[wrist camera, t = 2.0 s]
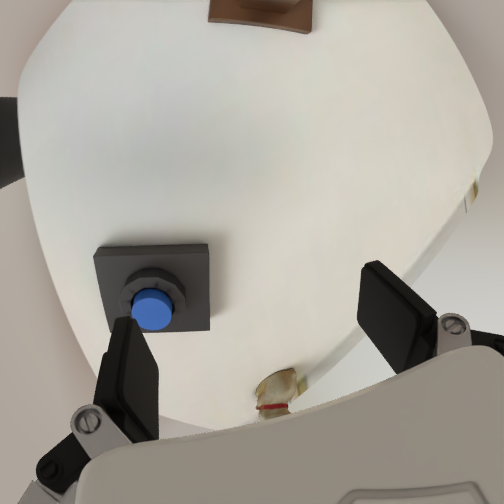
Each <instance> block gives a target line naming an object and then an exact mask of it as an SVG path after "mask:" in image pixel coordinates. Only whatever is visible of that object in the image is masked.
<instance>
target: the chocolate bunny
mask: <svg viewBox="0 0 504 504" xmlns="http://www.w3.org/2000/svg"><path fill="white" fill-rule="evenodd" d="M296 387H297V385H296V372H295V370H294V369H289V370H284V371H280V372H276V373H275V374H273V375H271V376H270V377H267V378H266V379H265V380H264V381H262V382H261V383H260V384H259V386H258V388H257V389H256V396H257V397H258V399H257V406H256V409H257V410H260V411H259V419H260V422H261V421H265V420H269V419H273V418H276V417H280V416H284V415H287V414H291V413H290V412H289V411H288V404H287V403H288V401H290V400H291V399H292V397H293V396H294V394H295V392H296Z"/></svg>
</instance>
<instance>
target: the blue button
mask: <svg viewBox="0 0 504 504" xmlns="http://www.w3.org/2000/svg"><path fill="white" fill-rule="evenodd" d="M132 317H133V318H135V319H136V320H137V322H138V325H139V326H140V327H142V328H144V329H147V330H160V329H162V328H164V327H166V326H167V325H168V324H169V323H170V321H171V317H172V303H171V300H170V298H169V297H168V295H167V294H165V293H164V292H163V291H161V290H158V289H153V288H149V289H144V290H142V291H140V292H139V293H138V294H137V295H136V297H135V299H134V303H133V307H132Z"/></svg>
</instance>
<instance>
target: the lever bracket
mask: <svg viewBox="0 0 504 504" xmlns="http://www.w3.org/2000/svg"><path fill="white" fill-rule="evenodd" d="M312 3H313V0H210V6H209V15H208V22H215V23H231V24H243V25H252V26H261V27H268V28H275V29H281V30H287V31H293V32H298V33H303V34H308V33H310V32H311V29H312Z"/></svg>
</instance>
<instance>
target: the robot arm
mask: <svg viewBox="0 0 504 504" xmlns="http://www.w3.org/2000/svg"><path fill="white" fill-rule="evenodd" d="M436 313H437V312H436V311H435V310H434V309H433V308H432V307H431V306H430V305H429V304H427V303H426V302H425V301H424V300H423V299H422V298H421V297H420V296H419V295H418V294H416V293H415V292H414V291H413V290H412V289H411V288H410V287H409V286H408V285H407V284H405V283H404V282H403V281H402V280H401V279H400V278H399V277H397V276H396V275H395V274H394V273H393V272H392V271H391V270H389V269H388V268H387V267H386V266H385V265H384V264H382V263H381V262H380V261H378V260H376V261H372V262H368V263H366V264H365V265H364V267H363V268H362V270H361V281H360V292H359V302H358V311H357V321H358V323H359V325H360V326H361V328H362V329H363V330H364V332H365V333H366V334H367V335H368V337H369V338H370V339H371V341H372V342H373V343H374V345H375V346H376V347H377V349H378V350H379V351H380V353H381V354H382V355H383V357H384V358H385V359H386V361H387V362H388V363H389V365H390V366H391V367H392V369H393V370H394V372H395V373H396V374H397V375H395V376H393V377H391V378H388V379H386V380H384V381H382V382H379V383H377V384H374V385H372V386H370V387H367V388H364V389H362V390H359V391H357V392H354V393H351V394H349V395H346V396H343V397H341V398H338V399H335V400H332V401H329V402H327V403H323V404H320V405H317V406H314V407H311V408H308V409H305V410H301V411H298V412H295V413H291V414H287V415H284V416H280V417H276V418H273V419H269V420H265V421H261V422H257V423H252V424H248V425H244V426H239V427H234V428H229V429H224V430H219V431H213V432H208V433H201V434H195V435H189V436H183V437H175V438H168V439H160V440H159V422H158V420H159V419H158V387H159V370H158V366H157V363H156V361H155V359H154V357H153V355H152V353H151V351H150V349H149V347H148V345H147V343H146V340H145V338H144V336H143V334H142V332H141V329H140V327H139V325H138V322H137V320H136V319H135V318H133V319H132V318H131V317H130V316H123V317H118V318H116V319H115V322H114V326H113V330H112V334H111V338H110V342H109V346H108V351H107V352H105V353H104V354H103V357H102V361H101V366H100V370H99V375H98V380H97V385H96V390H95V395H94V401H93V404H92V405H91V404H89V405H85V406H82V407H81V408H79V409H78V410H77V411H76V412H75V413H74V414H73V416H72V419H71V422H70V423H71V429H72V433H71V434H69V435H68V436H67V437H66V438H65V439H64V440H62V441H61V442H60V443H59V444H57V446H55V447H54V448H53V449H52V450H50V451H49V452H48V453H47V454H45V455H44V456H43V457H42V458H41V459H40V460H39V462H38V464H37V467H36V475H37V478H38V479H37V481H36V482H35V481H33V480H32V482H31V483H30V485H29V487H28V488H27V490H26V491H25V493H24V495H23V496H22V498H21V499H20V501H19V502H18V504H504V336H502V335H498V334H492V333H487V332H481V331H476V330H470V326H469V323H468V321H467V320H466V319H465V318H464V317H462V316H460V315H458V314H455V313H446V314H444V315H442V316H441V317H440V318H438V317H437V316H436Z"/></svg>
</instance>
